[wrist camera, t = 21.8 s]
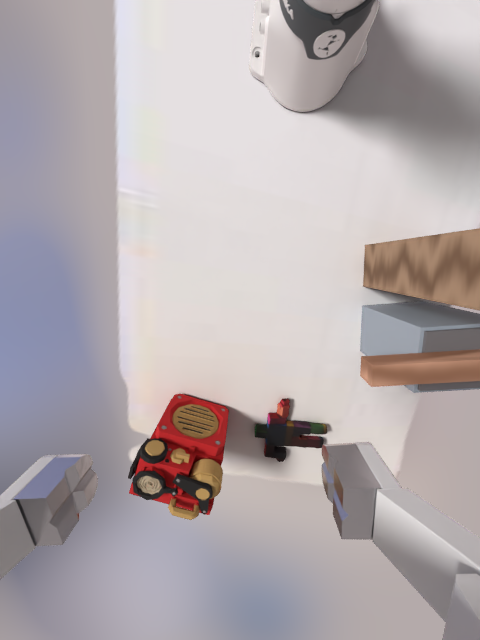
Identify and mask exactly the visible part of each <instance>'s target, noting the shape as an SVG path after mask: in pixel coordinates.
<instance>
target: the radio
mask: <svg viewBox="0 0 480 640" xmlns="http://www.w3.org/2000/svg"><path fill="white" fill-rule="evenodd" d="M228 413H229V410H228V409H227V408H226V407H225V406H221V405H218V404H214V403H211V402H207V401H204V400H200V399H197V398H194V397H190V396H187V395H183V394H176V395H174V397H173V398H172V399H171V401H170V403H169V405H168V406H167V408H166V410H165V412H164V414H163V416H162V418H161V420H160V421H159V423H158V425H157V427H156V429H155V431H154V433H153V435H152V436H151V438H150V439H147V440H146V441H145V442H144V443H143V445H142V446H141V448H140V449H139V451H138V453H137V456H136V458H135V460H134V462H133V464H132V466H131V468H130V472H129V476H128V478H130V479H131V478H132V476H133V475H134V474H135V476H134V478H133V482H132V484H131V488H130V492H129V493H130V494H133V495H137V496H140V497H142V498H144V499H146V500H150V499H152V500H155V501H159V502H162V503H166V504H169V507H168V508H169V510H170V512H171V513H172V515H174V516H177V517H181V518H185V519H189V520H192V519H194V518H196V517H197V516H198V515H199V513H203V514H207V515H209V514H210V511H211V509H212V506H213V502H214V497H215V496H217V495H218V494H219V492H220V490H221V483H222V475H223V471H222V468H221V464H222V461H223V454H224V446H225V440H226V431H227V422H228ZM135 472H136V473H135ZM176 506H177V507H176ZM180 507H181V508H180ZM183 508H184V509H183ZM187 509H188V510H187ZM191 510H192V511H191Z"/></svg>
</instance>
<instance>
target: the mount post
mask: <svg viewBox="0 0 480 640" xmlns="http://www.w3.org/2000/svg"><path fill="white" fill-rule="evenodd" d="M363 286H364V287H369V288H374V289H379V290H383V291H388V292H393V293H398V294H403V295H407V296H412V297H417V298H422V299H427V300H431V301H436V302H441V303H446V304H451V305H456V306H461V307H465V308H470V309H475V310H480V228H479V229H472V230H466V231H459V232H452V233H445V234H438V235H431V236H424V237H417V238H411V239H404V240H397V241H390V242H383V243H376V244H369V245H365V260H364V281H363Z"/></svg>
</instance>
